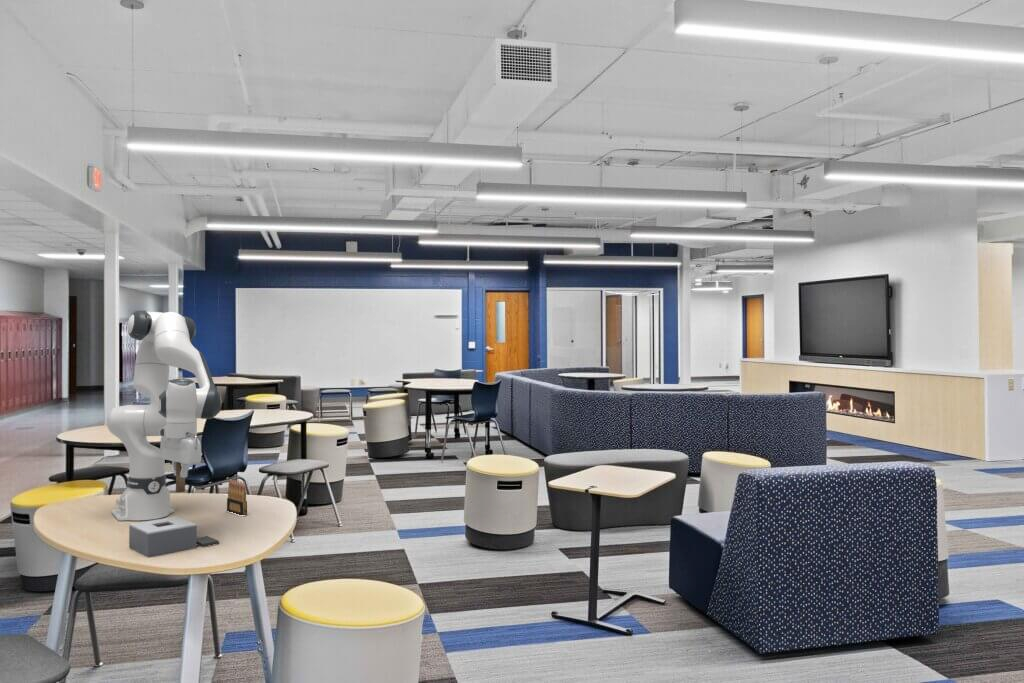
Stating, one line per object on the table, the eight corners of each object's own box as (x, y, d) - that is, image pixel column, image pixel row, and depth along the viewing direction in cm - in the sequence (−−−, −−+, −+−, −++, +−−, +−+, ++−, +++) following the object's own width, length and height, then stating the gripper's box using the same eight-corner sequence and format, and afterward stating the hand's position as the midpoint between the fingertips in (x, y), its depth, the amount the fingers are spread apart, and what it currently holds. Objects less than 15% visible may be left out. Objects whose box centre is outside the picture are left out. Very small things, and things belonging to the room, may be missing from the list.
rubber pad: (191, 542, 230) (191, 538, 230) (207, 539, 234) (207, 535, 234) (202, 547, 225) (202, 543, 225) (219, 544, 228) (219, 540, 228)
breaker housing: (129, 547, 223) (129, 524, 223) (176, 538, 234) (176, 516, 234) (148, 557, 214) (148, 532, 214) (196, 547, 224) (196, 524, 224)
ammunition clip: (226, 511, 270) (226, 478, 270) (231, 511, 271) (231, 478, 271) (242, 516, 263) (242, 482, 263) (247, 515, 264) (247, 481, 264)
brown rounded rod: (174, 491, 231) (174, 459, 231) (182, 490, 233) (183, 458, 233) (178, 492, 229) (178, 459, 229) (186, 491, 231) (187, 459, 231)
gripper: (207, 433, 226) (206, 479, 226) (176, 428, 240) (176, 471, 240) (186, 435, 222) (185, 481, 221) (156, 429, 235) (156, 474, 235)
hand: (180, 476), depth 231 cm, fingers closed on brown rounded rod, 3 cm apart
